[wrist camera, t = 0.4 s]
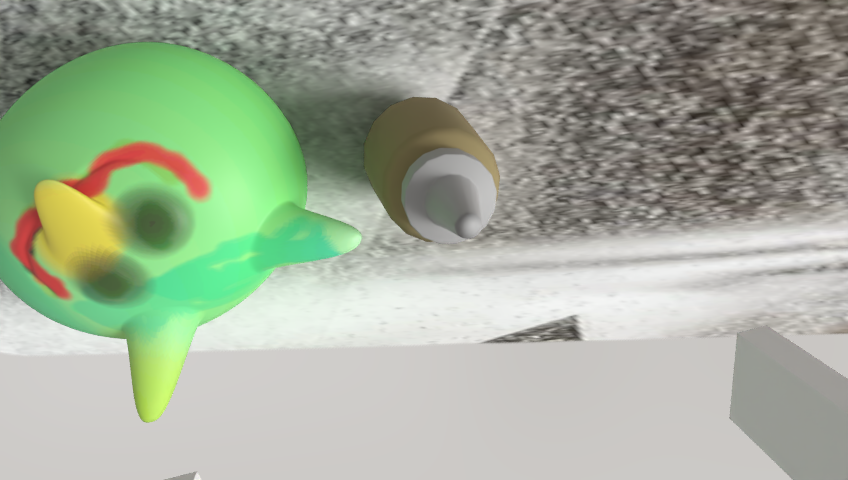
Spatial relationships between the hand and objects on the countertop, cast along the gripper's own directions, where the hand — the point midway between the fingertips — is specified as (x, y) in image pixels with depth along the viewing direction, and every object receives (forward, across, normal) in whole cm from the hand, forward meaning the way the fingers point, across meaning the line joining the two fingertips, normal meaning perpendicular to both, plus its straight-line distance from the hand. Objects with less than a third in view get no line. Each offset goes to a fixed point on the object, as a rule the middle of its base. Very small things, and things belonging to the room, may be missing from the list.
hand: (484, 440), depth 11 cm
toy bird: (+28, -14, +3) cm, 31 cm away
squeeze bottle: (+28, +2, +2) cm, 28 cm away
